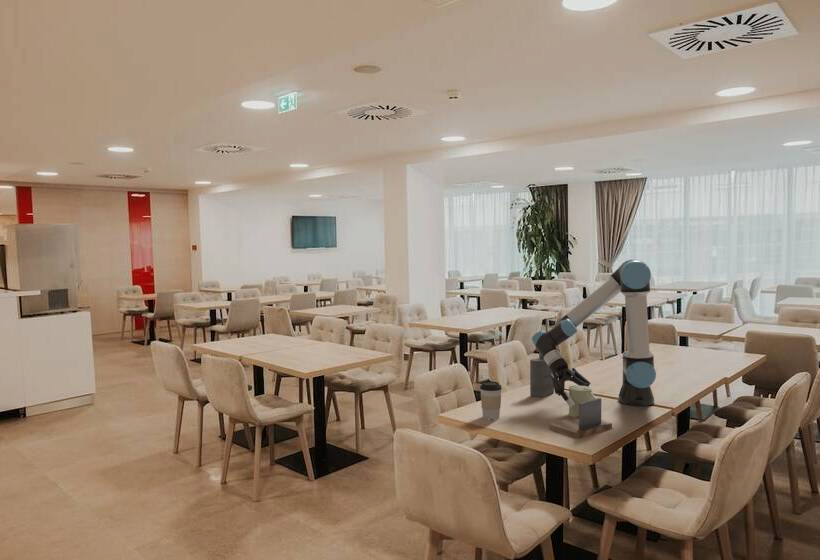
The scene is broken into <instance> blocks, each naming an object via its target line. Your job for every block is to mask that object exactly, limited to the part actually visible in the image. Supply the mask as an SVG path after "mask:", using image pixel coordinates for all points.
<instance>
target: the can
mask: <svg viewBox="0 0 820 560" xmlns="http://www.w3.org/2000/svg"><path fill="white" fill-rule="evenodd" d="M591 391H592V388H591V387H590V386H589V387H587V386H579V385H570V386H569V387H568V394H569V396H570V397H571V399H572V400H573V402H574V403H575V405H574V406H573V407H572V408H570V407H569V406H568V407H569V408H568V416H570V417H571V418H573V417H577V416H579V403H582V402H586V401H590V400H591Z"/></svg>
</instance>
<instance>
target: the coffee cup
mask: <svg viewBox="0 0 820 560" xmlns="http://www.w3.org/2000/svg"><path fill="white" fill-rule="evenodd" d="M479 389H480V404H481V409H482V418H483V419H484V420H487V419H496V420H499V419H500V415H501V414H500V412H501V404H502V403H501V402H502V389H503V387H502V384H500V383H499V382H498V381H493V380H485V381H484V382H482V384H481V385H480V386H479ZM498 418H499V419H498Z"/></svg>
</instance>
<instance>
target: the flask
mask: <svg viewBox="0 0 820 560" xmlns="http://www.w3.org/2000/svg"><path fill="white" fill-rule="evenodd" d="M538 355H539V357H537V358H533V359H530V361H529V372H530V373H529V374H530V375H529V377H530V378H529V379H530V381H529V383H530V384H529V385H530V386H529V387H530V389H529V390H530V392H529V393H530V397H531V398H534V397H535V398H537V399H539V398H544V396H545V397H548V396H551V395H553V394H554V393H555V390H554V385H553V381H552V378H551V376H550V375H551V374H552V371H551V369H550V368H549V366H548V365H547V363H546V362H545V360H544V359H543V357H542V356H541V354H540V353H539V354H538ZM538 397H539V398H538Z"/></svg>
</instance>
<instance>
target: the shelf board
mask: <svg viewBox="0 0 820 560" xmlns="http://www.w3.org/2000/svg"><path fill="white" fill-rule="evenodd" d="M601 423H604V424H606V425H604V426H601V427H598V428H594V429H591V430H588V431H583V430H580V429H579V416H577V417H570V418H566V419H563V420H559V421H556V422H552V423H549V430H552V431H554V432H557V433H560V434H562V435H567V436H569V437H572V438H575V439H581V438H585V437H588V436H591V435H594V433H595V434H598V433H600V432H605V431H609V430H611V429H613V422H611V421H606V420H603V419H601ZM610 428H611V429H610ZM604 430H605V431H604ZM597 432H598V433H597Z"/></svg>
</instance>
